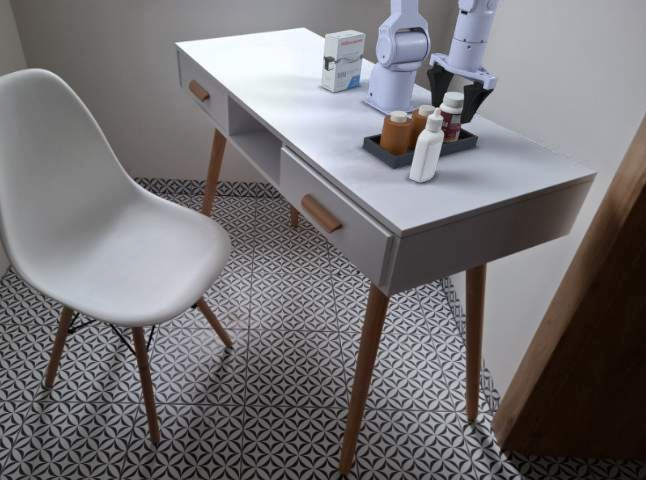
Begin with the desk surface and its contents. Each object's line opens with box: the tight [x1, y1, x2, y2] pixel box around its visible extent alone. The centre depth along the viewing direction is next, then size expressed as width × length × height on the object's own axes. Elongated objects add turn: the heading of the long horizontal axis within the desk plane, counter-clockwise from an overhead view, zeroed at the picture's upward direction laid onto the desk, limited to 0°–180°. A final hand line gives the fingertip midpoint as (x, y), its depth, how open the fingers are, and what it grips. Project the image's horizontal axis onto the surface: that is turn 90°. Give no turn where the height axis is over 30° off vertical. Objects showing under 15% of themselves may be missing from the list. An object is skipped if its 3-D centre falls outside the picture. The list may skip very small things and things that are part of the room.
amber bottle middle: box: [408, 104, 435, 149], centre depth 95 cm, size 5×5×7 cm
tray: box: [362, 127, 479, 169], centre depth 97 cm, size 9×20×2 cm, turn 119°
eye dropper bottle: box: [408, 108, 444, 184], centre depth 85 cm, size 4×6×12 cm
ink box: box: [320, 29, 366, 93], centre depth 119 cm, size 8×5×12 cm, turn 128°
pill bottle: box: [439, 91, 464, 143], centre depth 97 cm, size 5×5×8 cm
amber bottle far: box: [380, 111, 413, 156], centre depth 93 cm, size 5×5×7 cm
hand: (450, 115), depth 97 cm, fingers open, 7 cm apart
